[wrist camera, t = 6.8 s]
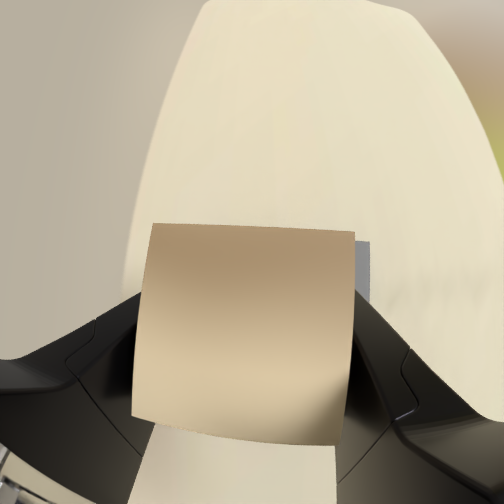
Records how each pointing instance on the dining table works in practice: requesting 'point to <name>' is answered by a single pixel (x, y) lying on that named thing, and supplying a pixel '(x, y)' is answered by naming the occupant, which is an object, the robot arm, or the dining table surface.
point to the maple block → (246, 332)
